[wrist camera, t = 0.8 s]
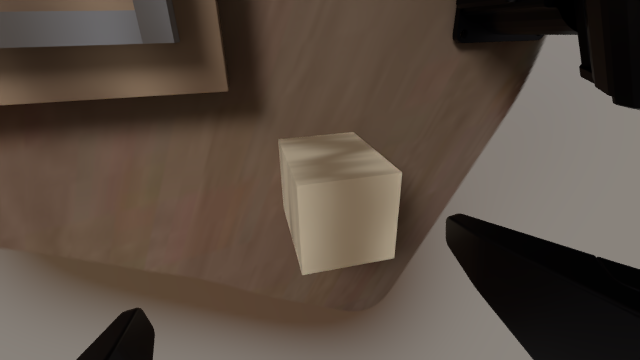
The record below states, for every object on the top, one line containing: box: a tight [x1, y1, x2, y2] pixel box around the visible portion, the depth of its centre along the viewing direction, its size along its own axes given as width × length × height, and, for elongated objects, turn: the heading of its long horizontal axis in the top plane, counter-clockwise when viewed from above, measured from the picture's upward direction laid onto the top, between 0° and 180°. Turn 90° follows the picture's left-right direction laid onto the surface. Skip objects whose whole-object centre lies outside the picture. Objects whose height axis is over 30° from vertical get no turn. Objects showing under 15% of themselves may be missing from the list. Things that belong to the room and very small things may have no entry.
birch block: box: [278, 132, 402, 275], centre depth 18 cm, size 5×5×7 cm
